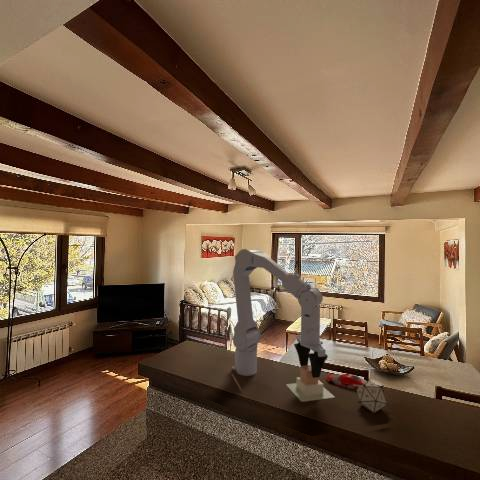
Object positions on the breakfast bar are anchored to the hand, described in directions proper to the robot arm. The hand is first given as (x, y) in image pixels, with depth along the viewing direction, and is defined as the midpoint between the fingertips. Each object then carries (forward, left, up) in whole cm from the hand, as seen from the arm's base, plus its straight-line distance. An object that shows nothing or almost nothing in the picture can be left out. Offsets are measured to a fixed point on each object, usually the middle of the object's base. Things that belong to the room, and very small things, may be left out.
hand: (309, 371), depth 93 cm
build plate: (0, 0, -6) cm, 6 cm away
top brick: (0, 0, -3) cm, 3 cm away
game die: (+13, +12, -7) cm, 19 cm away
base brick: (0, 0, -6) cm, 6 cm away
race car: (-1, +14, -7) cm, 16 cm away
